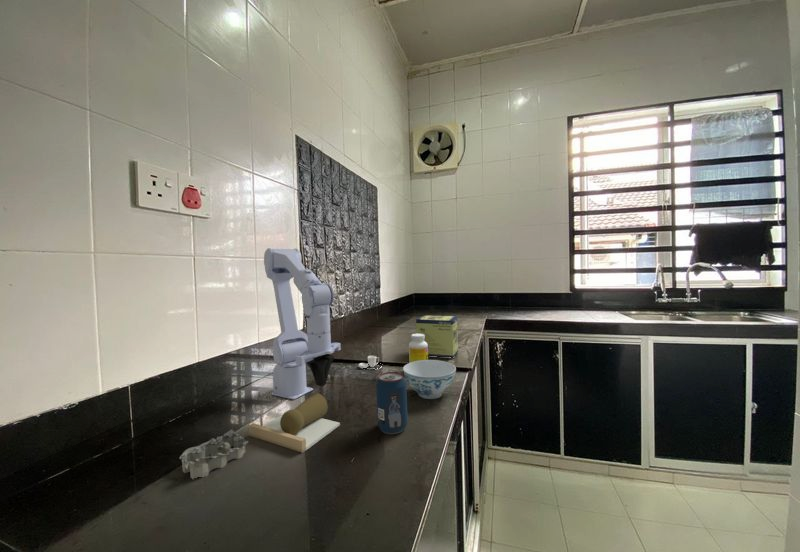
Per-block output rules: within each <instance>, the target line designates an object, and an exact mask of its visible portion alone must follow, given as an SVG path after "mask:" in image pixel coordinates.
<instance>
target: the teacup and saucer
mask: <svg viewBox="0 0 800 552" xmlns="http://www.w3.org/2000/svg"><path fill="white" fill-rule="evenodd" d="M377 359H378V361H377ZM379 361H380V359H379V357H377V356H376V355H368V356H367V362H368V363H365V362H360V363H358V366H357V367H358V368H360V369H363V368H367V367H368V368H375V367H376V366H378V365H377V364H378V363H379ZM368 364H369V365H368ZM369 366H370V367H369ZM374 366H375V367H374ZM368 368H367V369H368ZM376 368H377V369H376V370H379V369H382V368H383V367H382V366H381V367H380V368H379V369H378V367H376Z"/></svg>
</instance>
